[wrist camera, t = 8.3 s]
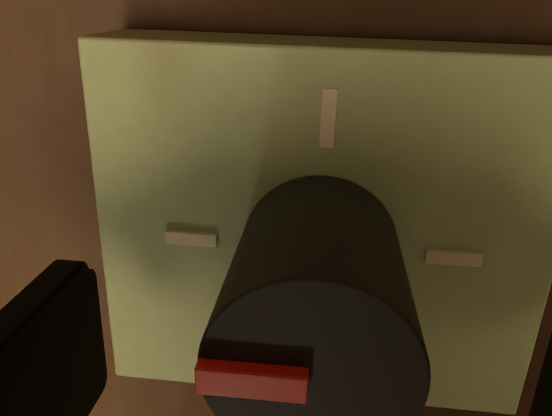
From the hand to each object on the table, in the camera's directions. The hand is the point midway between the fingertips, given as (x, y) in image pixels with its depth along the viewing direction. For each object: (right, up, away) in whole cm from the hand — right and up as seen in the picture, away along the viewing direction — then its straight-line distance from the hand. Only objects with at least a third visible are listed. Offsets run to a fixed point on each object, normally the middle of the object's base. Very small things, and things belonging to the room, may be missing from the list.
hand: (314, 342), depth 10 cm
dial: (0, +2, +3) cm, 3 cm away
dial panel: (+1, +3, +6) cm, 6 cm away
